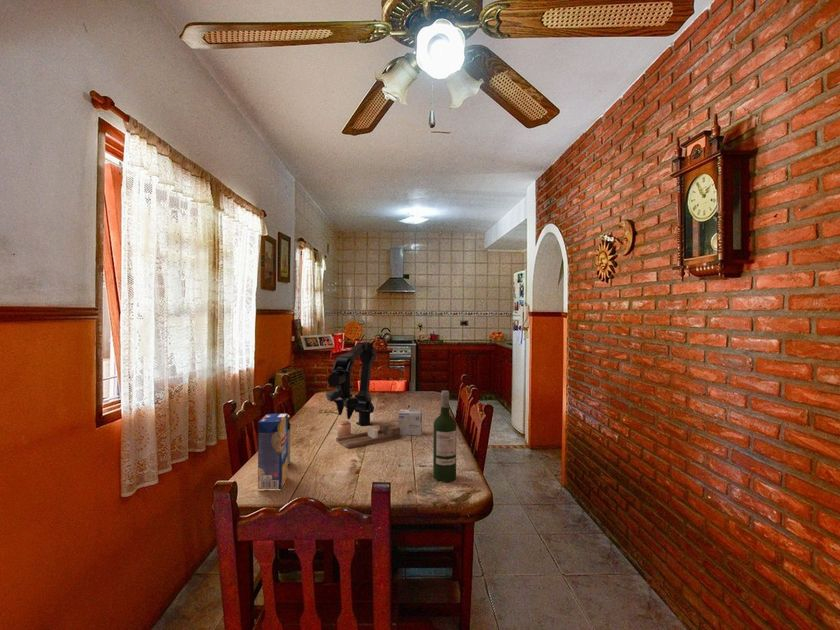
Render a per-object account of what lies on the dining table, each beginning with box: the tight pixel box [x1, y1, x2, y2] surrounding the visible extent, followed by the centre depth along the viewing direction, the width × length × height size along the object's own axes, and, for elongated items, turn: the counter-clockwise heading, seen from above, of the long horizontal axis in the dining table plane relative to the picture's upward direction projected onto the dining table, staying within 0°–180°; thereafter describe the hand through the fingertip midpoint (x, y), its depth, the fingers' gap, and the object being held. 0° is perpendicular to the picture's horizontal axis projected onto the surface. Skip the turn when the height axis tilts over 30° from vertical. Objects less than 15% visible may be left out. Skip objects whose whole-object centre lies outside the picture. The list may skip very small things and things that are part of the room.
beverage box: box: [257, 413, 289, 490], centre depth 139 cm, size 7×11×22 cm, turn 6°
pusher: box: [367, 426, 379, 438], centre depth 189 cm, size 7×1×4 cm, turn 35°
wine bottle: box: [432, 390, 457, 483], centre depth 145 cm, size 8×8×30 cm
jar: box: [337, 420, 352, 437], centre depth 195 cm, size 6×6×6 cm
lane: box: [335, 422, 401, 449], centre depth 188 cm, size 11×26×5 cm, turn 125°
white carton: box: [397, 408, 423, 437], centre depth 199 cm, size 11×7×11 cm, turn 84°
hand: (344, 416), depth 195 cm, fingers open, 9 cm apart
